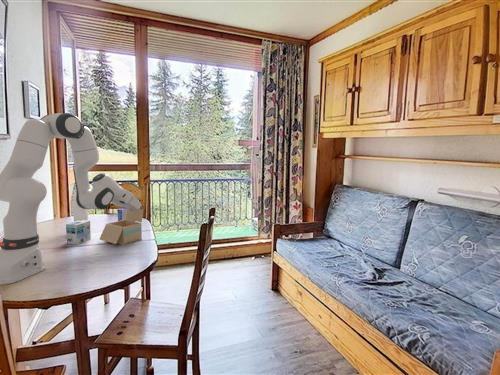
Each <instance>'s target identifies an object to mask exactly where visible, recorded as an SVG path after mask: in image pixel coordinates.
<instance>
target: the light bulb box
mask: <svg viewBox="0 0 500 375" xmlns="http://www.w3.org/2000/svg"><path fill="white" fill-rule="evenodd" d="M65 230H66V231H65V234H66V235H65V236H66V244H69V245H70V244H71V245H75V246H77V245H80V244H82V243H85V242H88V241H91V238H92V236H91V235H92V234H91V220H88V221H87V220H78V221H75V222H74V221H72V222H68V223H66V224H65Z"/></svg>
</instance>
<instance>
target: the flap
mask: <svg viewBox="0 0 500 375" xmlns="http://www.w3.org/2000/svg"><path fill="white" fill-rule="evenodd" d="M143 214H144V206H142V205H141V207H140V208H139V210H135V211H130V210H129V209H127V210H126V219H128V220H132V221H135V222H138V223H142V221H143Z"/></svg>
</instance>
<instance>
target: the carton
mask: <svg viewBox="0 0 500 375" xmlns="http://www.w3.org/2000/svg"><path fill="white" fill-rule="evenodd" d="M142 228H143V227H142V222H137V221H135V222H134V221H129V220H121V221H118V220H117V221H113V222H108V223H106V224H105V225H104V228H103V230H102V233H101V234H100V237H99V240H101V241H105V242H108V243H112V244H114V245H117V244H119V245H127V244H130V242H131V243H133V241H134V242H137V241H139V239H140V240H143V239H142V238H143V237H142V232H143V231H142ZM136 240H137V241H136Z"/></svg>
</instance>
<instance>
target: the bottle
mask: <svg viewBox="0 0 500 375" xmlns="http://www.w3.org/2000/svg"><path fill="white" fill-rule="evenodd" d="M75 190H76V191H75V192H76V193H75V195H74V196H73V198H72V211H73V212H72V213H73V216H72V218H73V222H75V221H78V220H87V221H89V209H83V208H81V207H79V206H78V204H77V201H76V195H77V189H75Z"/></svg>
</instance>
